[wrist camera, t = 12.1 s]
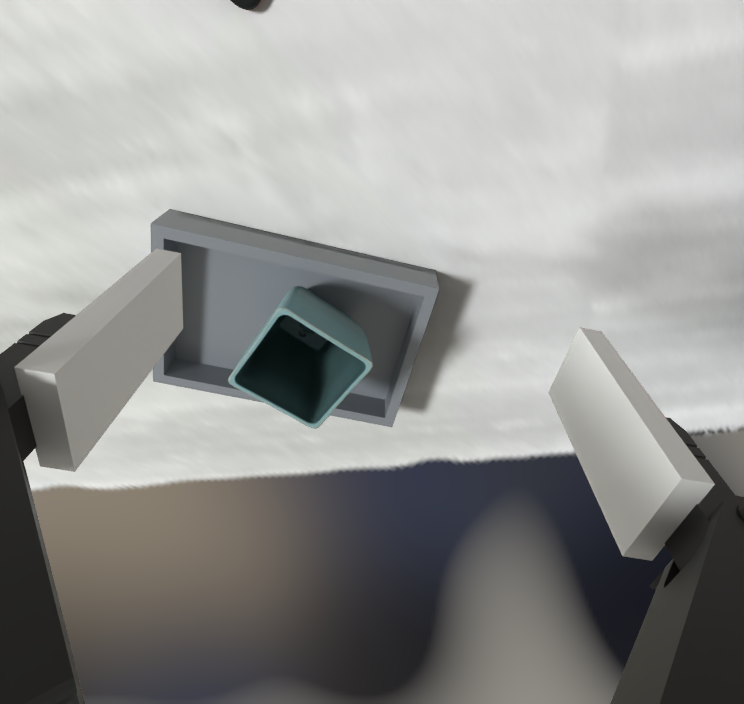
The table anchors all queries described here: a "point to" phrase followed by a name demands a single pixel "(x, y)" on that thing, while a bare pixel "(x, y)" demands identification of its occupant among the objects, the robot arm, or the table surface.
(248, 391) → the flower pot
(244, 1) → the handheld game console
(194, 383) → the tray
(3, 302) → the table surface
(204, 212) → the table surface
